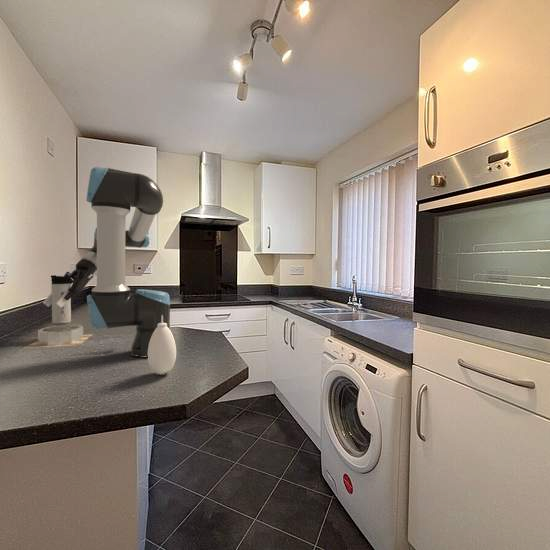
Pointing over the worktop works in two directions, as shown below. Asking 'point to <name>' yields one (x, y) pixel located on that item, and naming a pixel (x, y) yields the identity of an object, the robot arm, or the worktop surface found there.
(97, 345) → the worktop surface
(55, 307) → the travel mug
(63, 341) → the collar
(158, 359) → the sauce bottle
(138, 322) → the robot arm
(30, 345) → the birch board
